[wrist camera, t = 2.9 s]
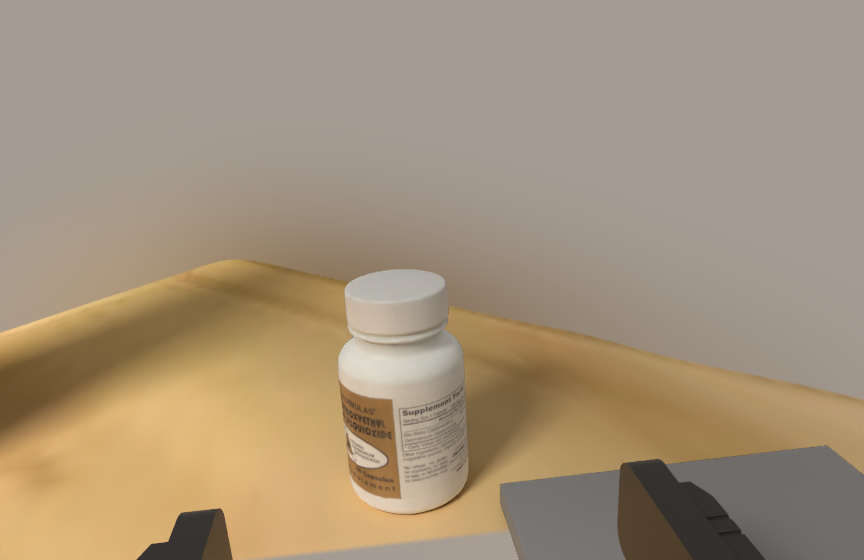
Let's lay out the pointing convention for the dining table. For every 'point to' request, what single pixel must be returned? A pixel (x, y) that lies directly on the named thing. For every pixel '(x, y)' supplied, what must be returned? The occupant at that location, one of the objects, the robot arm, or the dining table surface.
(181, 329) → the dining table surface
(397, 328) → the pill bottle
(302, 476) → the dining table surface
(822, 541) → the mat
